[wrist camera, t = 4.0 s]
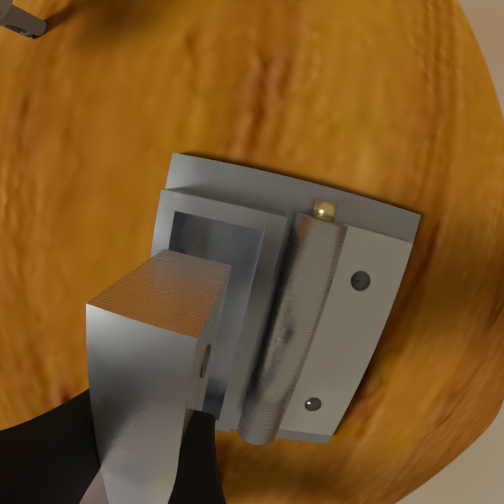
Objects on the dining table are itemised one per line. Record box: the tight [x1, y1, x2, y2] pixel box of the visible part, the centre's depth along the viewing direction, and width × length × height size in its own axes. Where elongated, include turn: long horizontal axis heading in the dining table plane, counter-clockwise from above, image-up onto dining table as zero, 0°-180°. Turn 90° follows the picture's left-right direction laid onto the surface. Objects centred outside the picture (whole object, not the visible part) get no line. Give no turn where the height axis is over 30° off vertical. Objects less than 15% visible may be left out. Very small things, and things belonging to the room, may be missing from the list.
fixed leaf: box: [150, 153, 421, 445], centre depth 16 cm, size 16×13×3 cm
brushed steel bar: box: [86, 249, 232, 504], centre depth 9 cm, size 9×2×5 cm, turn 167°
